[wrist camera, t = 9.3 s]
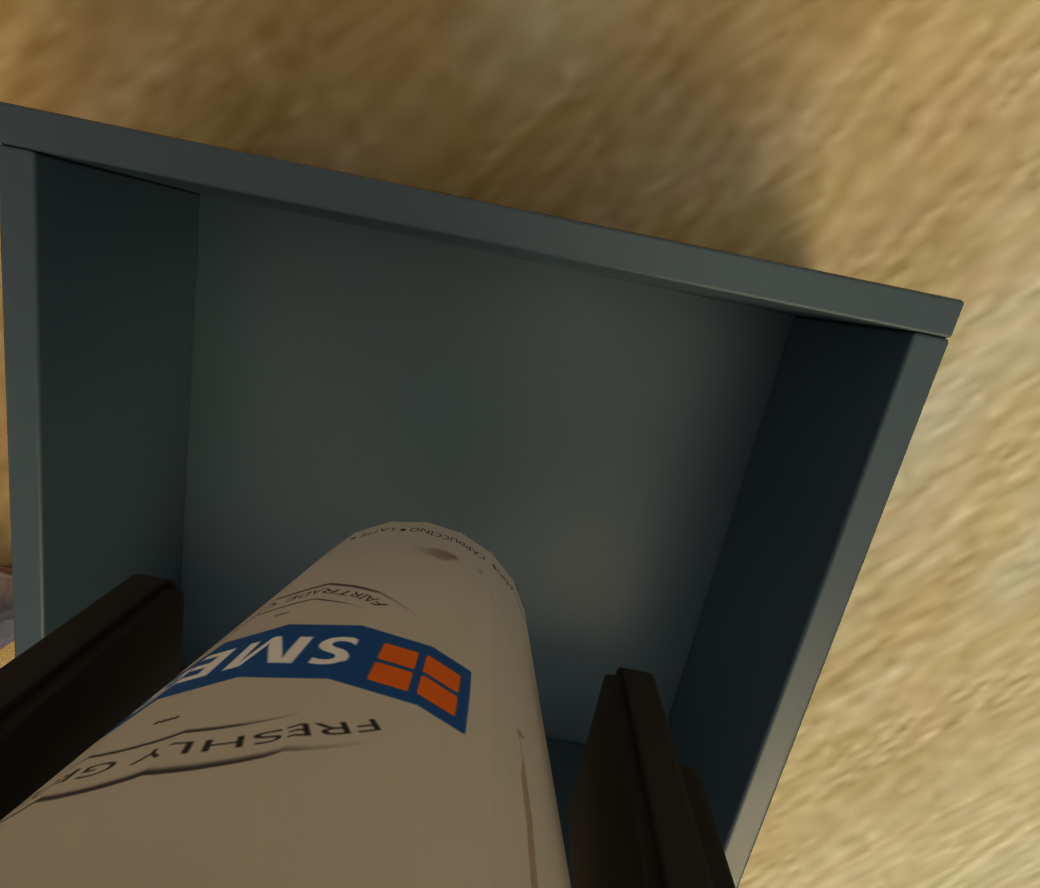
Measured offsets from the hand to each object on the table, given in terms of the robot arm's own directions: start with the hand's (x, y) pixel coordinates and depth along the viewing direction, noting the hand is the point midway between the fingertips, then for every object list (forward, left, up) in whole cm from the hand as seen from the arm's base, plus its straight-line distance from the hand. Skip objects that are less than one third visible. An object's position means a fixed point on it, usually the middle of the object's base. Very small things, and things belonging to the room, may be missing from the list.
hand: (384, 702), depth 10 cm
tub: (0, 0, -9) cm, 9 cm away
